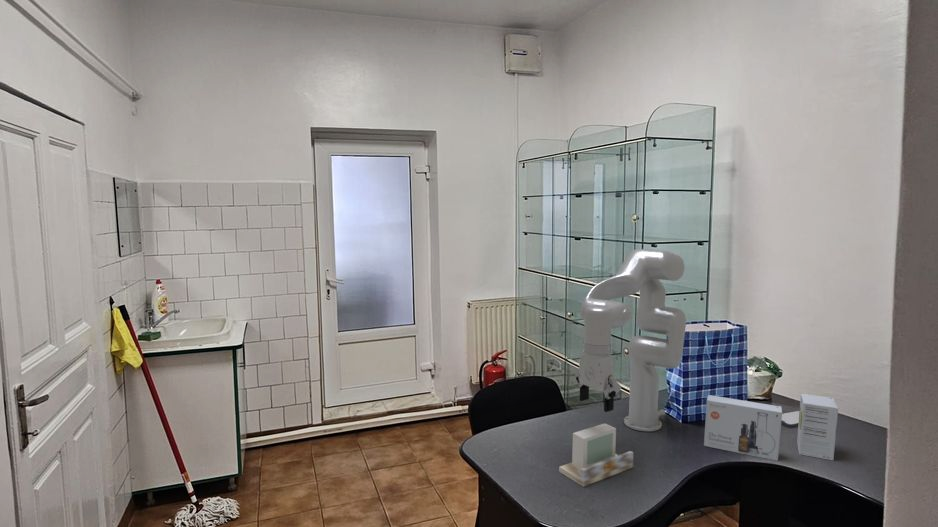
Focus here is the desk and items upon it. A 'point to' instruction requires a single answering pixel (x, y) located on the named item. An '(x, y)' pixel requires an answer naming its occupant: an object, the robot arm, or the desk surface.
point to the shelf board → (598, 469)
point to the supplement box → (817, 426)
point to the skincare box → (743, 427)
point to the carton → (593, 445)
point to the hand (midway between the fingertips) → (596, 405)
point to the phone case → (790, 419)
